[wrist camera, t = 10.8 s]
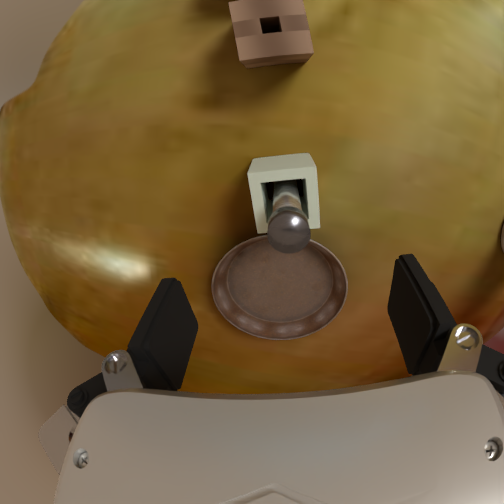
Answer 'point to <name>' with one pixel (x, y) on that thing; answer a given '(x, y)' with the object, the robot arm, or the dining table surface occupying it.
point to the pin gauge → (287, 219)
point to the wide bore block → (278, 171)
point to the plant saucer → (279, 289)
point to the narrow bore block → (271, 32)
